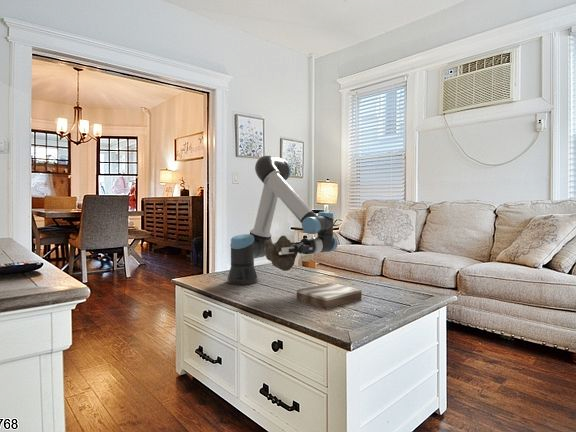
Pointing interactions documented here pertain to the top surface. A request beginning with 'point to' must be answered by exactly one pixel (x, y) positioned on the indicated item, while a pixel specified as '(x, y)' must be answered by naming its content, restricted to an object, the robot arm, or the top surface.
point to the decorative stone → (278, 260)
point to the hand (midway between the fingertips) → (273, 249)
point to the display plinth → (329, 295)
